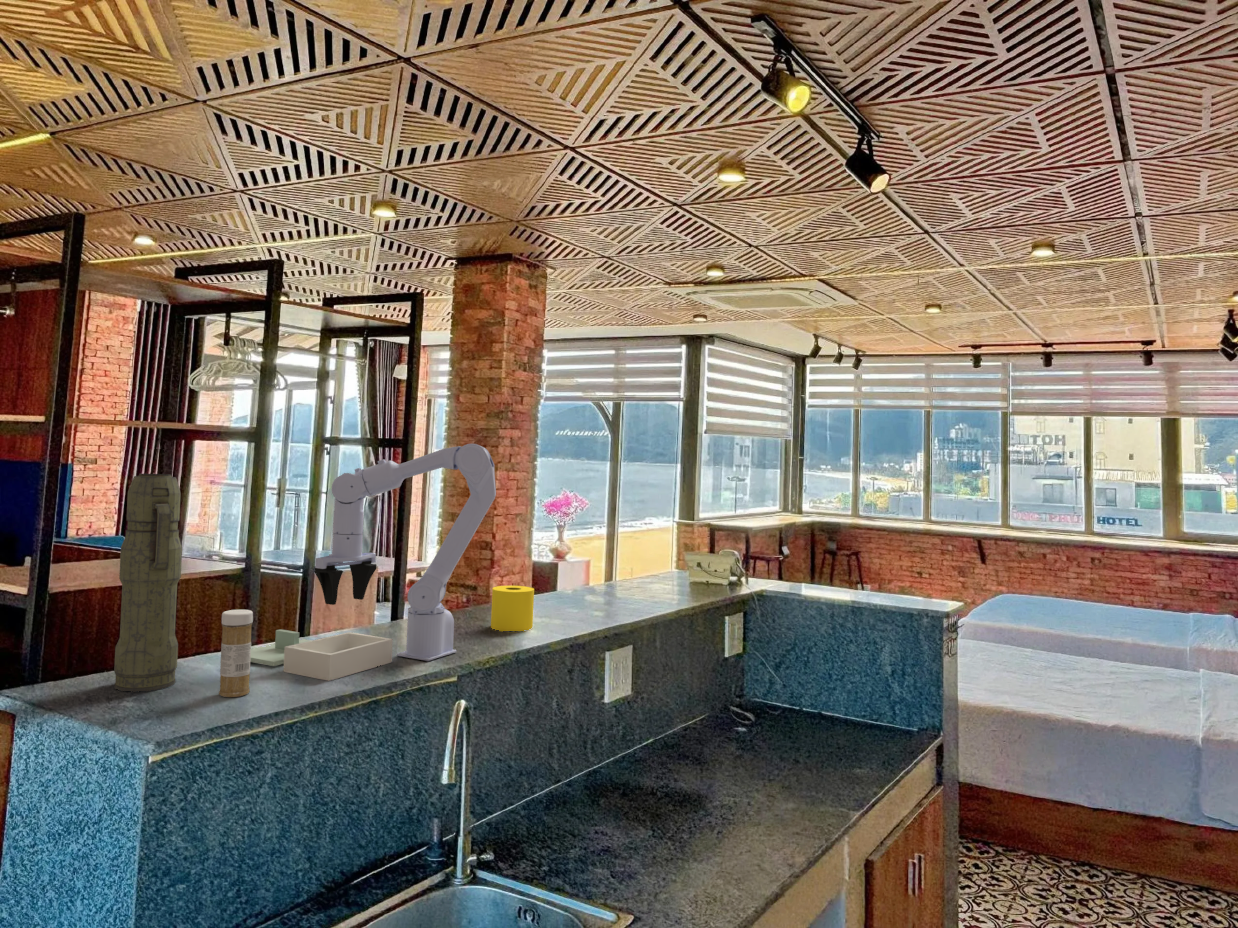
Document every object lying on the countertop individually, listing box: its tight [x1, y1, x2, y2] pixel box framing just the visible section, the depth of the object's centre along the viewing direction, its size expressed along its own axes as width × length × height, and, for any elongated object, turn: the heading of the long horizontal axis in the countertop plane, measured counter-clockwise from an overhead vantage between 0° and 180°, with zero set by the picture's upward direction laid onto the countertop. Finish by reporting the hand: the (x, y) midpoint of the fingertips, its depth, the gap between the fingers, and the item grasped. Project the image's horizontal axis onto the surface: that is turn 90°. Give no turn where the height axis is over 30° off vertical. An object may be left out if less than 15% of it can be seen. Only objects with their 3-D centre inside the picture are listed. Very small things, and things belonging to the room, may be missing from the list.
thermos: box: [113, 473, 183, 693], centre depth 131 cm, size 9×12×35 cm
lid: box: [250, 629, 312, 667], centre depth 154 cm, size 17×12×5 cm
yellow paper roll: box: [490, 585, 535, 632], centre depth 190 cm, size 10×10×9 cm
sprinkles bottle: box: [218, 609, 254, 698], centre depth 128 cm, size 5×5×13 cm
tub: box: [283, 631, 394, 682], centre depth 147 cm, size 16×11×4 cm
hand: (344, 601), depth 157 cm, fingers open, 7 cm apart
